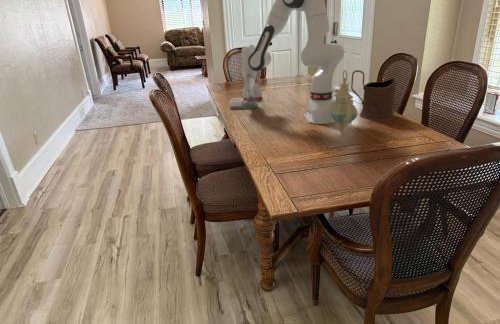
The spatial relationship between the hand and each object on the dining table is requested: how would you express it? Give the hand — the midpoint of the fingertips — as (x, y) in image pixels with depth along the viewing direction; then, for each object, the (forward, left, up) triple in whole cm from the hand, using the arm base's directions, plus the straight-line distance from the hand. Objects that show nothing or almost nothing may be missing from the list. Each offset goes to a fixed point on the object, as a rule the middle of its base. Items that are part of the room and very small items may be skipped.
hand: (250, 94), depth 219 cm
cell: (0, 0, -3) cm, 3 cm away
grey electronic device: (0, +4, -8) cm, 9 cm away
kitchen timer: (+23, +2, -8) cm, 24 cm away
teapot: (-50, -53, -8) cm, 73 cm away
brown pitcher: (-21, -72, -8) cm, 75 cm away
